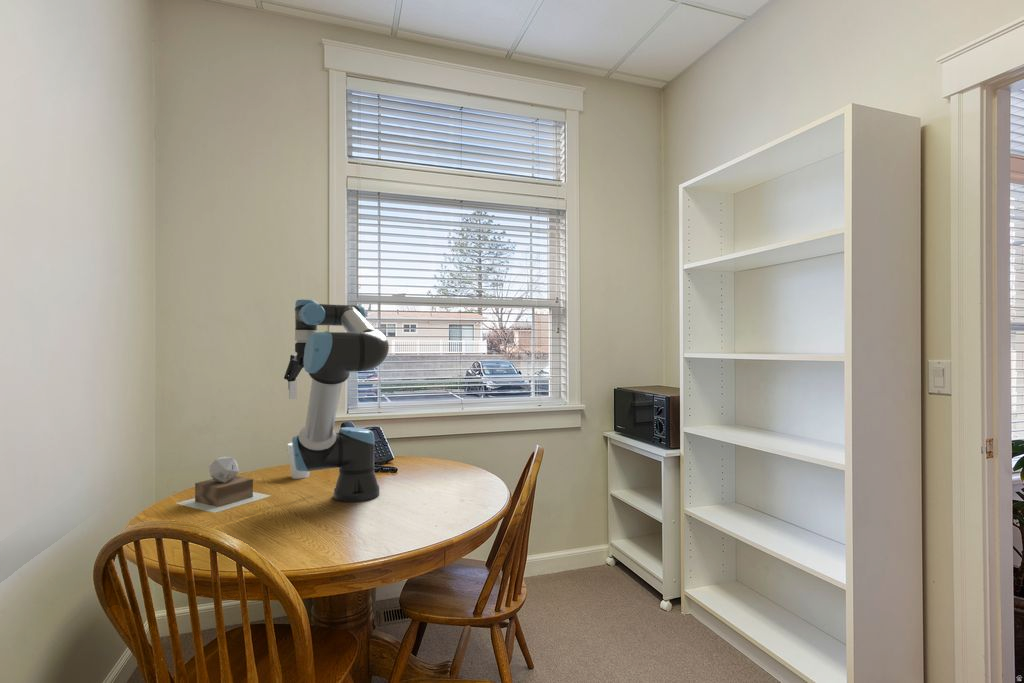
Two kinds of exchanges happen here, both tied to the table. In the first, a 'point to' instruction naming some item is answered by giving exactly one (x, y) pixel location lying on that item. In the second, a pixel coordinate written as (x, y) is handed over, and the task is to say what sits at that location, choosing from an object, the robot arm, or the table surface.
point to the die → (223, 469)
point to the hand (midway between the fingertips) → (305, 399)
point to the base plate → (216, 509)
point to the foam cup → (294, 472)
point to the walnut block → (223, 491)
